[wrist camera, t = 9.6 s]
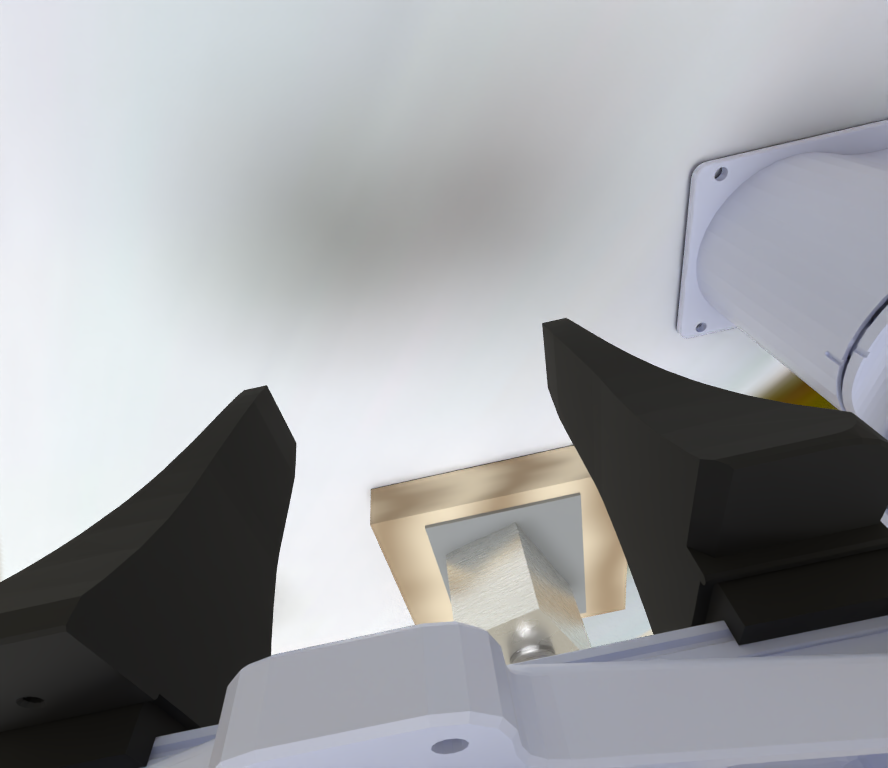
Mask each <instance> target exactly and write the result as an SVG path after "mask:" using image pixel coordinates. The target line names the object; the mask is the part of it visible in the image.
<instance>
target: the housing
mask: <svg viewBox="0 0 888 768" xmlns="http://www.w3.org/2000/svg"><path fill="white" fill-rule="evenodd" d="M445 556H446V564H447V572H448V580H449V588H450V596H451V604H452V612H453V620H454V621H456V622H460V623H464V624H468V625H472V626H475V627H479V628H482V629H484V630H485V631H487V632H488V633H489V634H490V635H491V636H492V637H493V638H494V639H495V640H496V641H497V643H498V644H499V645H500V646H501V648H502V652H503V656H504V659H505V663H506V665H509V664H514V663H519V662H524V661H529V660H533V659H538V658H543V657H548V656H553V655H558V654H563V653H567V652H572V651H577V650H582V649H587V648H592V647H591V644H590V641H589V638H588V636H587V633H586V630H585V627H584V624H583V621H582V618H581V615H580V612H579V609H578V607H577V604H576V601H575V598H574V595H573V592H572V589H571V587H570V586H569V584H568V583H567V582H566V581H565V580H564V579H563V577H562V576H561V575H560V574H559V573H558V572H557V570H556V569H555V568H554V567H553V566H552V564H551V563H550V562H549V561H548V560H547V559H546V557H545V556H544V555H543V554H542V553H541V552H540V550H539V549H538V548H537V547H536V546H535V545H534V543H533V542H532V541H531V540H530V539H529V537H528V536H527V535H526V534H525V533H524V532H523V530H522V529H521V528H520V527H519V526H518V525H517V523H516V522H514V523H512V524H510V525H508V526H506V527H503V528H501V529H499V530H497V531H495V532H493V533H491V534H488V535H486V536H484V537H482V538H480V539H478V540H476V541H474V542H471V543H469V544H467V545H465V546H463V547H461V548H459V549H456V550H454V551H452V552H450V553H448V554H446V555H445Z"/></svg>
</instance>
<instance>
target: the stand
mask: <svg viewBox="0 0 888 768" xmlns="http://www.w3.org/2000/svg"><path fill="white" fill-rule="evenodd" d="M514 522H516V523H517V525H518V526H519V527H520V528H521V529H522V530H523V532H524V533H525V534H526V535H527V536H528V537H529V539H530V540H531V541H532V542H533V543H534V545H535V546H536V547H537V548H538V549H539V550H540V552H541V553H542V554H543V555H544V556H545V557H546V559H547V560H548V561H549V562H550V563H551V564H552V566H553V567H554V568H555V569H556V570H557V572H558V573H559V574H560V575H561V576H562V577H563V579H564V580H565V581H566V582H567V583H568V584H569V586H570V587H571V589H572V592H573V595H574V598H575V601H576V604H577V607H578V609H579V612H580V615H581V618H585V617H590V616H594V615H599V614H604V613H609V612H614V611H619V610H623V609H625V599H626V574H627V560H626V558H625V555H624V553H623V550H622V547H621V545H620V542H619V540H618V537H617V535H616V532H615V530H614V527H613V525H612V522H611V520H610V517H609V515H608V512H607V510H606V507H605V505H604V502H603V500H602V498H601V496H600V494H599V492H598V489H597V487H596V485H595V483H594V481H593V480H592V478H591V476H590V474H589V472H588V470H587V469H586V467H585V465H584V463H583V461H582V459H581V458H580V456H579V454H578V452H577V450H576V448H575V447H574V445H573V446H568V447H564V448H559V449H555V450H550V451H545V452H541V453H536V454H532V455H527V456H523V457H518V458H513V459H509V460H504V461H500V462H495V463H490V464H486V465H481V466H477V467H472V468H467V469H463V470H458V471H454V472H449V473H444V474H440V475H435V476H431V477H426V478H421V479H417V480H412V481H408V482H403V483H398V484H394V485H389V486H385V487H380V488H375V489H371V514H370V525H371V527H372V530H373V532H374V534H375V536H376V539H377V541H378V543H379V545H380V548H381V550H382V552H383V554H384V556H385V559H386V561H387V563H388V565H389V568H390V570H391V572H392V574H393V577H394V579H395V581H396V583H397V585H398V588H399V590H400V592H401V594H402V597H403V599H404V601H405V603H406V606H407V608H408V610H409V612H410V614H411V617H412V619H413V621H414V623H415V625H418V624H423V623H437V622H452V621H454V620H453V612H452V604H451V596H450V588H449V580H448V572H447V564H446V556H445V555H446V554H448V553H450V552H452V551H454V550H456V549H459V548H461V547H463V546H465V545H467V544H469V543H471V542H474V541H476V540H478V539H480V538H482V537H484V536H486V535H488V534H491V533H493V532H495V531H497V530H499V529H501V528H503V527H506V526H508V525H510V524H512V523H514Z"/></svg>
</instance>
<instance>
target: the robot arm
mask: <svg viewBox="0 0 888 768" xmlns="http://www.w3.org/2000/svg"><path fill="white" fill-rule="evenodd" d="M721 167H722V172H721V175H720V176H719V177H718V178H716V179H715V177H714V175H715V173H716V171H717V170H718V169H719V168H721ZM700 323H702V325H701V326H700V327H698V328H696V327H697V325H698V324H700ZM542 326H543V337H544V349H545V360H546V371H547V382H548V389H549V392H550V394H551V397H552V400H553V403H554V405H555V408H556V411H557V413H558V416H559V418H560V420H561V422H562V424H563V426H564V428H565V430H566V432H567V434H568V435H569V437H570V439H571V441H572V443H573V445H574V447H575V448H576V450H577V452H578V454H579V456H580V458H581V459H582V461H583V463H584V465H585V467H586V469H587V470H588V472H589V474H590V476H591V478H592V480H593V481H594V483H595V485H596V487H597V489H598V492H599V494H600V496H601V498H602V500H603V502H604V505H605V507H606V510H607V512H608V515H609V517H610V520H611V522H612V525H613V527H614V530H615V532H616V535H617V537H618V540H619V542H620V545H621V547H622V550H623V553H624V555H625V558H626V560H627V563H628V565H629V568H630V571H631V573H632V576H633V579H634V582H635V584H636V587H637V590H638V592H639V595H640V598H641V601H642V603H643V606H644V609H645V612H646V614H647V617H648V620H649V623H650V626H651V629H652V632H653V634H654V635H650V636H645V637H640V638H635V639H631V640H626V641H621V642H616V643H611V644H606V645H601V646H597V647H592V648H587V649H582V650H577V651H572V652H567V653H563V654H558V655H553V656H548V657H543V658H538V659H533V660H529V661H524V662H519V663H514V664H509V665H506V663H505V659H504V656H503V652H502V648H501V646H500V645H499V644H498V643H497V641H496V640H495V639H494V638H493V637H492V636H491V635H490V634H489V633H488V632H487V631H485V630H484V629H482V628H479V627H475V626H472V625H468V624H464V623H460V622H456V621H452V622H437V623H423V624H418V625H413V626H408V627H404V628H399V629H394V630H389V631H384V632H380V633H375V634H370V635H365V636H360V637H356V638H351V639H346V640H341V641H337V642H332V643H327V644H322V645H317V646H313V647H308V648H303V649H298V650H294V651H289V652H284V653H279V654H275V655H272V656H271V640H272V623H273V607H274V595H275V583H276V572H277V564H278V558H279V552H280V547H281V542H282V537H283V532H284V528H285V523H286V518H287V513H288V508H289V504H290V499H291V493H292V488H293V483H294V478H295V465H296V442H295V440H294V438H293V436H292V434H291V432H290V430H289V428H288V426H287V424H286V422H285V420H284V418H283V416H282V414H281V412H280V410H279V408H278V406H277V404H276V402H275V400H274V398H273V396H272V394H271V393H270V391H269V389H268V387H267V385H266V386H261V387H257V388H252V389H248V390H244V391H243V392H242V393H240V394H239V395H238V396H237V397H236V398H235V399H234V400H233V401H232V402H231V403H230V404H229V405H228V406H227V407H226V408H225V409H224V410H223V411H222V412H221V413H220V414H219V415H218V416H217V417H216V418H215V419H214V420H213V421H212V422H211V423H210V424H209V425H208V426H207V427H206V428H205V430H204V431H203V432H202V433H201V434H200V435H199V436H198V437H197V438H196V439H195V440H194V441H193V442H192V443H191V444H190V445H189V446H188V447H187V448H186V449H185V450H184V451H183V452H181V453H180V454H179V455H178V456H177V457H176V458H175V459H174V460H173V461H172V462H171V463H170V464H169V465H168V466H167V467H166V468H165V469H164V470H163V471H162V472H160V473H159V474H158V475H157V476H156V477H155V478H154V479H152V480H151V481H150V482H149V483H148V484H147V485H145V486H144V487H143V488H142V489H141V490H139V491H138V492H137V493H136V494H134V495H133V496H132V497H131V498H129V499H128V500H127V501H126V502H124V503H123V504H122V505H120V506H119V507H118V508H116V509H115V510H114V511H112V512H111V513H109V514H108V515H107V516H105V517H104V518H102V519H101V520H100V521H98V522H97V523H95V524H94V525H93V526H91V527H90V528H88V529H87V530H86V531H84V532H83V533H81V534H80V535H78V536H77V537H75V538H74V539H72V540H71V541H69V542H68V543H66V544H64V545H63V546H61V547H60V548H58V549H57V550H55V551H53V552H52V553H50V554H48V555H47V556H45V557H44V558H42V559H40V560H39V561H37V562H35V563H34V564H32V565H30V566H29V567H27V568H25V569H23V570H22V571H20V572H18V573H17V574H15V575H13V576H11V577H9V578H7V579H5V580H4V581H2V582H0V768H888V120H884V121H879V122H875V123H871V124H866V125H862V126H858V127H853V128H849V129H845V130H841V131H836V132H832V133H828V134H823V135H819V136H815V137H810V138H806V139H802V140H797V141H793V142H789V143H785V144H780V145H776V146H772V147H767V148H763V149H759V150H754V151H750V152H746V153H741V154H737V155H733V156H729V157H724V158H720V159H716V160H711V161H707V162H704V163H702V164H700V165H699V166H697V167H696V169H695V170H694V172H693V174H692V177H691V187H690V197H689V207H688V218H687V228H686V238H685V249H684V259H683V270H682V280H681V290H680V301H679V311H678V321H677V332H678V333H679V334H680V335H681V336H682V337H683V338H692V337H697V336H701V335H706V334H710V333H715V332H719V331H724V330H728V329H733V328H737V327H738V328H739V329H740V330H741V331H743V332H744V333H745V334H746V335H748V336H749V337H750V338H751V339H752V340H754V341H755V342H756V343H757V344H759V345H760V346H761V347H762V348H764V349H765V350H766V351H767V352H768V353H770V354H771V355H772V356H773V357H775V358H776V359H777V360H778V361H780V362H781V363H782V364H783V365H784V366H786V367H787V368H788V369H789V370H791V371H792V372H793V373H794V374H796V375H797V376H798V377H799V378H800V379H802V380H803V381H804V382H805V383H807V384H808V385H809V386H810V387H812V388H813V389H814V390H815V391H816V392H818V393H819V394H820V395H821V396H823V397H824V398H825V399H826V400H828V401H829V402H830V403H831V404H832V405H834V406H835V407H836V408H837V409H839V410H832V409H825V408H817V407H809V406H802V405H794V404H788V403H783V402H778V401H773V400H768V399H762V398H757V397H753V396H748V395H744V394H740V393H736V392H732V391H728V390H725V389H721V388H717V387H714V386H710V385H706V384H703V383H700V382H697V381H694V380H691V379H688V378H685V377H683V376H680V375H677V374H674V373H672V372H669V371H666V370H664V369H661V368H659V367H657V366H654V365H652V364H650V363H648V362H646V361H643V360H641V359H639V358H637V357H635V356H633V355H631V354H629V353H627V352H625V351H623V350H621V349H619V348H617V347H615V346H614V345H612V344H610V343H608V342H606V341H605V340H603V339H601V338H599V337H598V336H596V335H594V334H593V333H591V332H589V331H588V330H586V329H584V328H583V327H581V326H579V325H578V324H576V323H574V322H573V321H571V320H569V319H567V318H564V319H559V320H555V321H550V322H546V323H542Z"/></svg>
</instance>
